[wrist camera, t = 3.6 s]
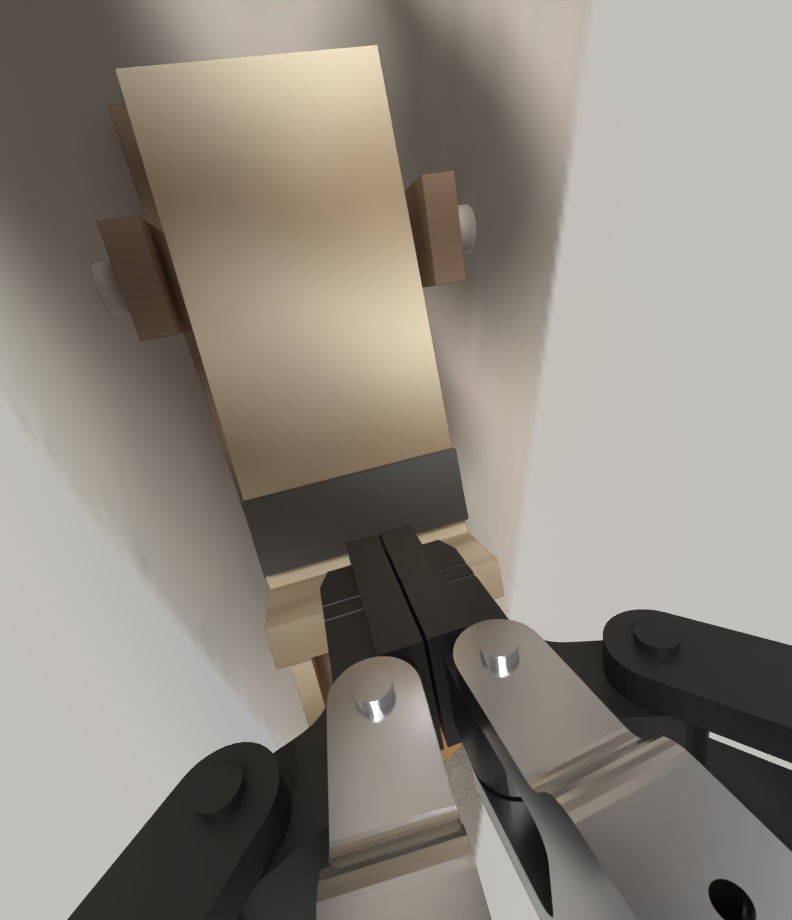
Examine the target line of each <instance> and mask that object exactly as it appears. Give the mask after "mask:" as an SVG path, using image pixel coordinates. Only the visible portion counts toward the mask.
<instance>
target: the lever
mask: <svg viewBox="0 0 792 920" xmlns="http://www.w3.org/2000/svg"><path fill="white" fill-rule="evenodd" d="M115 70H116V73H117V77H118V80H119V83H120V87H121V90H122V94H123V97H124V100H125V104H126V107H127V110H128V114H129V117H130V120H131V124H132V127H133V130H134V134H135V137H136V141H137V144H138V147H139V151H140V154H141V157H142V161H143V164H144V167H145V171H146V174H147V177H148V181H149V184H150V188H151V191H152V194H153V198H154V201H155V204H156V208H157V211H158V214H159V218H160V221H161V224H162V228H163V231H164V235H165V238H166V241H167V245H168V248H169V251H170V255H171V258H172V261H173V265H174V268H175V271H176V275H177V278H178V282H179V285H180V288H181V292H182V295H183V298H184V302H185V305H186V308H187V312H188V315H189V318H190V322H191V325H192V329H193V332H194V335H195V339H196V342H197V345H198V349H199V352H200V355H201V359H202V362H203V365H204V369H205V372H206V376H207V379H208V382H209V386H210V389H211V392H212V396H213V399H214V402H215V406H216V409H217V412H218V416H219V419H220V423H221V426H222V429H223V433H224V436H225V439H226V443H227V446H228V449H229V453H230V456H231V459H232V463H233V466H234V470H235V473H236V476H237V480H238V483H239V486H240V490H241V493H242V496H243V500H244V501H243V508H244V511H245V514H246V518H247V521H248V524H249V528H250V531H251V534H252V538H253V541H254V544H255V548H256V551H257V554H258V558H259V561H260V564H261V568H262V571H263V574H264V577H267V580H268V584H269V587H270V595H269V603H268V611H267V618H266V626H265V632H266V636H267V639H268V642H269V645H270V649H271V652H272V655H273V658H274V662H275V665H276V668H277V669H279V668H282V667H285V666H288V665H291V668H292V671H293V675H294V678H295V681H296V685H297V688H298V692H299V695H300V698H301V702H302V705H303V708H304V712H305V715H306V718H307V722H308V725H309V727H310V726H311V725H312V724H313V723H314V722H315V721H316V720H317V719H318V717H319V716H320V715H321V714H322V712H323V710H324V709H325V707H326V705H327V698H328V694H329V691H330V689H331V687H332V673H331V666H330V659H329V652H328V644H327V637H326V630H325V621H324V616H323V607H322V601H321V594H320V587H321V585H322V582H323V580H324V578H325V576H326V574H327V572H328V571H332V570H335V569H339V568H342V567H346V566H349V565H351V564H350V560H349V556H348V552H347V548H346V543H348V542H351V541H355V540H358V539H362V538H365V537H369V536H373V535H376V534H377V536H378V538H379V533H383V532H387V531H390V530H394V529H397V528H401V527H404V526H408V525H410V526H411V527H412V528H413V530H414V531H415V533H416V535H417V536H418V538H419V540H420V541H421V543H422V544H425V543H428V542H432V541H435V540H440V541H442V542H444V543H446V544H448V545H450V546H452V547H454V548H456V549H457V551H458V552H459V553H460V555H461V556H462V557H463V559H464V560H465V562H466V565H467V564H468V566H469V567H470V568H471V570H472V571H473V572H474V575H475V576H477V578H478V579H479V580H480V582H481V583H482V584H483V586H484V587H485V588H486V590H487V591H488V592H489V594H490V595H491V596H492V598H493V599H496V598H499V597H503V596H504V591H503V585H502V579H501V574H500V568H499V562H498V559H497V558H496V557H495V556H494V555H493V554H492V553H491V552H489V551H488V550H487V549H486V548H485V547H484V546H483V545H482V544H480V543H479V542H478V541H477V540H476V539H475V538H474V537H473V536H471V535H470V534H469V533H468V532H467V526H466V521H465V520H466V519H468V514H467V508H466V503H465V497H464V492H463V486H462V481H461V476H460V470H459V465H458V459H457V454H456V449H454V448H452V445H451V440H450V435H449V429H448V424H447V418H446V413H445V408H444V402H443V397H442V392H441V386H440V381H439V375H438V370H437V365H436V359H435V354H434V348H433V343H432V338H431V332H430V327H429V321H428V316H427V311H426V305H425V300H424V294H423V289H422V284H421V278H420V273H419V268H418V262H417V257H416V251H415V246H414V241H413V235H412V230H411V224H410V219H409V214H408V208H407V203H406V197H405V192H404V187H403V181H402V176H401V170H400V165H399V160H398V154H397V149H396V143H395V138H394V133H393V127H392V122H391V117H390V111H389V106H388V100H387V95H386V90H385V84H384V79H383V73H382V68H381V63H380V57H379V52H378V46H377V45H372V46H361V47H350V48H338V49H327V50H316V51H305V52H294V53H283V54H272V55H260V56H249V57H238V58H227V59H216V60H205V61H193V62H182V63H171V64H160V65H149V66H138V67H127V68H115ZM379 540H380V539H379Z"/></svg>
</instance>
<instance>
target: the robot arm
mask: <svg viewBox="0 0 792 920" xmlns="http://www.w3.org/2000/svg"><path fill="white" fill-rule="evenodd" d="M379 539H380V540H379ZM346 548H347V552H348V556H349V560H350V564H351V565H349V566H346V567H342V568H339V569H335V570H332V571H328V572H327V574H326V576H325V578H324V580H323V582H322V585H321V587H320V594H321V601H322V607H323V616H324V621H325V630H326V637H327V644H328V652H329V659H330V666H331V673H332V687H331V689H330V691H329V694H328V698H327V705H326V707H325V709H324V710H323V712H322V714H321V715H320V716H319V717H318V719H317V720H316V721H315V722H314V723H313V724H312V725H311V726H310V727H309V728H308V729H307V730H306V731H304V732H303V733H302V734H300V735H299V736H298V737H296V738H295V739H293V740H292V741H290V742H289V743H287V744H286V745H285V746H283V747H282V748H280V749H279V750H277V751H276V752H274V753H272V752H271V751H270V750H269V749H267V748H266V747H265V746H263V745H261V744H257V743H253V742H241V743H235V744H232V745H228V746H225V747H223V748H221V749H219V750H217V751H215V752H213V753H212V754H210V755H208V756H207V757H205V758H204V759H203V760H201V761H200V762H199V763H198V764H196V765H195V766H194V767H193V768H192V769H191V770H190V771H189V772H188V773H187V774H186V775H185V776H184V778H183V779H182V780H181V781H180V782H179V784H178V785H177V786H176V787H175V789H174V790H173V791H172V792H171V793H170V795H169V796H168V797H167V798H166V800H165V801H164V802H163V803H162V804H161V806H160V807H159V808H158V809H157V811H156V812H155V813H154V814H153V816H152V817H151V818H150V819H149V820H148V821H147V823H146V824H145V825H144V826H143V828H142V829H141V830H140V831H139V833H138V834H137V835H136V836H135V837H134V839H133V840H132V841H131V842H130V844H129V845H128V846H127V847H126V848H125V850H124V851H123V852H122V854H121V855H120V856H119V857H118V858H117V860H116V861H115V862H114V863H113V864H112V866H111V867H110V868H109V869H108V871H107V872H106V873H105V874H104V875H103V877H102V878H101V879H100V880H99V881H98V883H97V884H96V885H95V887H94V888H93V889H92V890H91V891H90V892H89V894H88V895H87V896H86V897H85V899H84V900H83V901H82V902H81V904H80V905H79V906H78V907H77V908H76V910H75V911H74V912H73V913H72V914H71V916H70V917H69V918H68V920H491V916H490V913H489V910H488V906H487V902H486V899H485V895H484V892H483V888H482V885H481V881H480V878H479V875H478V871H477V867H476V864H475V860H474V857H473V853H472V850H471V847H470V843H469V840H468V837H467V834H466V831H465V828H464V826H463V824H461V821H460V818H459V815H458V812H457V808H456V805H455V801H454V798H453V794H452V790H451V787H450V783H449V780H448V776H447V772H446V769H445V765H444V762H443V758H442V754H441V750H444V745H443V740H442V735H441V731H442V733H443V736H444V739H445V741H446V744H447V746H448V747H451V746H454V745H456V744H459V743H463V745H464V748H465V750H466V752H467V755H468V757H469V759H470V762H471V766H472V772H473V778H474V783H475V787H476V790H477V792H478V795H479V797H480V799H481V801H482V803H483V805H484V807H485V809H486V811H487V813H488V815H489V817H490V819H491V821H492V823H493V825H494V827H495V829H496V831H497V833H498V835H499V837H500V839H501V841H502V843H503V845H504V847H505V849H506V851H507V853H508V855H509V857H510V860H511V862H512V864H513V866H514V868H515V870H516V872H517V874H518V876H519V878H520V880H521V882H522V884H523V886H524V888H525V890H526V892H527V894H528V896H529V898H530V900H531V902H532V904H533V906H534V908H535V910H536V912H537V914H538V916H539V918H540V920H792V770H790V769H787V768H784V767H782V766H779V765H777V764H774V763H772V762H769V761H767V760H764V759H762V758H759V757H756V756H754V755H752V754H749V753H746V752H744V751H741V750H739V749H736V748H734V747H731V746H728V745H726V744H724V743H721V742H718V741H716V740H713V739H711V738H709V731H710V732H713V733H715V734H718V735H720V736H723V737H726V738H728V739H731V740H733V741H736V742H738V743H741V744H744V745H746V746H749V747H752V748H754V749H757V750H759V751H762V752H764V753H767V754H770V755H772V756H775V757H777V758H780V759H783V760H785V761H788V762H790V763H792V646H791V645H787V644H783V643H780V642H776V641H772V640H768V639H764V638H761V637H757V636H753V635H749V634H745V633H742V632H737V631H734V630H730V629H726V628H723V627H719V626H715V625H711V624H707V623H703V622H699V621H695V620H692V619H688V618H684V617H681V616H676V615H672V614H669V613H665V612H660V611H655V610H630V611H626V612H622V613H620V614H617V615H616V616H614V617H612V618H611V619H610V620H609V621H608V622H607V623H606V625H605V627H604V630H603V640H601V641H585V642H568V643H567V642H560V643H559V642H550V641H545V640H543V639H542V637H541V636H540V635H539V634H537V633H536V632H535V631H534V630H533V629H531V628H530V627H528V626H526V625H524V624H522V623H519V622H516V621H513V620H509V619H508V618H507V617H506V615H505V614H504V613H503V611H502V610H501V609H500V607H499V606H498V605H497V603H496V602H495V601H494V599H493V598H492V596H491V595H490V594H489V592H488V591H487V590H486V588H485V587H484V586H483V584H482V583H481V582H480V580H479V579H478V578H477V576H475V575H474V572H473V571H472V570H471V568H470V567H469V566H468V564H467V565H466V562H465V560H464V559H463V557H462V556H461V555H460V553H459V552H458V551H457V549H456V548H454V547H452V546H450V545H448V544H446V543H444V542H442V541H440V540H435V541H432V542H428V543H425V544H422V543H421V541H420V540H419V538H418V536H417V535H416V533H415V531H414V530H413V528H412V527H411V526H410V525H408V526H404V527H401V528H397V529H394V530H390V531H387V532H383V533H379V538H378V536H377V534H376V535H373V536H369V537H365V538H362V539H358V540H355V541H351V542H348V543H346ZM440 728H441V730H440Z"/></svg>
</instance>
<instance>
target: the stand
mask: <svg viewBox="0 0 792 920" xmlns="http://www.w3.org/2000/svg"><path fill="white" fill-rule="evenodd" d="M109 109H110V112H111V114H112V117H113V120H114V123H115V126H116V129H117V132H118V135H119V138H120V141H121V144H122V147H123V150H124V153H125V156H126V159H127V162H128V165H129V168H130V171H131V174H132V177H133V180H134V183H135V186H136V189H137V192H138V195H139V198H140V201H141V204H142V207H143V210H144V213H145V216H146V219H147V221H145V220H144V219H142V218H141V217H139V216H131V217H124V218H117V219H110V220H103V221H96V222H97V225H98V227H99V230H100V233H101V236H102V238H103V241H104V244H105V246H106V249H107V252H108V254H109V257H110V260H109V261H102V262H96V263H93V264H92V269H91V270H92V277H93V281H94V284H95V287H96V290H97V292H98V295H99V297H100V299H101V301H102V303H103V304H104V306H105V308H106V309H107V310H108V312H109V313H110V314H111V315H112V316H113V317H116V318H117V317H122V316H128V315H131V317H132V319H133V322H134V325H135V327H136V330H137V333H138V335H139V338H140V341H144V340H149V339H154V338H159V337H165V336H170V335H175V334H180V333H185V336H186V339H187V342H188V345H189V348H190V351H191V354H192V357H193V360H194V363H195V366H196V369H197V372H198V375H199V378H200V381H201V384H202V387H203V390H204V393H205V396H206V399H207V402H208V405H209V408H210V411H211V414H212V417H213V420H214V423H215V426H216V429H217V432H218V435H219V438H220V441H221V444H222V447H223V450H224V453H225V456H226V459H227V462H228V465H229V468H230V471H231V474H232V477H233V480H234V483H235V486H236V489H237V492H238V495H239V498H240V501H241V504H242V507H243V501H244V500H243V496H242V493H241V490H240V486H239V483H238V480H237V476H236V473H235V470H234V466H233V463H232V459H231V456H230V453H229V449H228V446H227V443H226V439H225V436H224V433H223V429H222V426H221V423H220V419H219V416H218V412H217V409H216V406H215V402H214V399H213V396H212V392H211V389H210V386H209V382H208V379H207V376H206V372H205V369H204V365H203V362H202V359H201V355H200V352H199V349H198V345H197V342H196V339H195V335H194V332H193V329H192V325H191V322H190V318H189V315H188V312H187V308H186V305H185V302H184V298H183V295H182V292H181V288H180V285H179V282H178V278H177V275H176V271H175V268H174V265H173V261H172V258H171V255H170V251H169V248H168V245H167V241H166V238H165V235H164V231H163V228H162V224H161V221H160V218H159V214H158V211H157V208H156V204H155V201H154V198H153V194H152V191H151V188H150V184H149V181H148V177H147V174H146V171H145V167H144V164H143V161H142V157H141V154H140V151H139V147H138V144H137V141H136V137H135V134H134V130H133V127H132V124H131V120H130V117H129V114H128V110H127V107H126V104H121V105H111V106H109ZM404 192H405V197H406V203H407V208H408V214H409V219H410V224H411V230H412V235H413V241H414V246H415V251H416V257H417V262H418V268H419V273H420V278H421V284H422V287H429V286H435V285H441V284H446V283H451V282H457V281H462V280H466V275H465V266H464V257H463V256H464V255H470V254H471V253H472V252H473V251H474V248H475V245H476V239H477V226H476V219H475V215H474V212H473V210H472V208H471V207H470V206H469V205H468V204H464V205H458V201H457V192H456V183H455V173H454V170H452V171H445V172H438V173H431V174H424V175H421V176H420V177H419V178H418V179H417V180H416V181H415V182H414V183H412V184H411V185H410V186H409V187H408V188H407V189H406V190H405V191H404ZM243 510H244V508H243ZM244 513H245V511H244ZM245 516H246V514H245ZM246 519H247V518H246ZM247 522H248V521H247ZM248 525H249V524H248Z"/></svg>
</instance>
